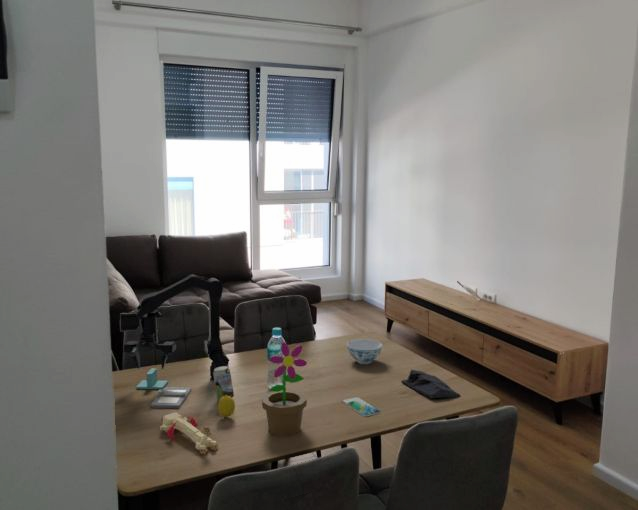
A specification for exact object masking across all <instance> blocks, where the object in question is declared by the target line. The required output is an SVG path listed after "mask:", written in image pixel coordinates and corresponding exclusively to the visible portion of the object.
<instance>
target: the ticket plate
mask: <svg viewBox="0 0 638 510" xmlns="http://www.w3.org/2000/svg"><path fill="white" fill-rule="evenodd" d="M191 391H192V387H172V386H171V387H169V386H168V387H166V386H165V387H164V388H163V389H158V390H157V396H156V397H155V399H154V400H153V401H152V403H150V409H151V408H153V409H159V408H160V409H180V408H181V406H182V405H183V403H184V402H185V401H186V399H187V398H188V395H189V394H190V393H191Z"/></svg>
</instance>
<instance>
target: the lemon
mask: <svg viewBox="0 0 638 510" xmlns="http://www.w3.org/2000/svg"><path fill="white" fill-rule="evenodd" d="M235 406H236V404H235V401H234V398H233V397H230V396H227V395H225V396H223V397H222V398H221V399H220V400H218V405H217V411H218V413H219V415H220V416H222V417H224V418H225V419H228V418H229V417H231V416H232V415H233V414H234V412H235V409H236V407H235Z"/></svg>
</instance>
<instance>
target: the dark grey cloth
mask: <svg viewBox="0 0 638 510" xmlns="http://www.w3.org/2000/svg"><path fill="white" fill-rule="evenodd" d="M401 383H402V384H405V385H406V386H407V387H409V388H411V389H412V390H414V391H417V392H418V393H420V394H422V395H424V396H425V397H427V398H431V399H441V398H443V399H446V398H448V399H450V398H458V397H461V394H460V393H457V392H456V391H454V390H453V389H452V388H451V387H450V386H449V385H448V384H447V383H445V382H444V381H443V380H442V379H440V378H438V377H437V376H436V375H432V374H429V373H426V372H423V371H421V370H416V369H410V372H409V375H408V377H407V379H402V380H401Z"/></svg>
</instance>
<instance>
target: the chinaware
mask: <svg viewBox="0 0 638 510" xmlns="http://www.w3.org/2000/svg"><path fill="white" fill-rule="evenodd" d="M346 347H347V351H348V353H349V355H350V356H351V357H352V358H353V359H354V360H356V363H357V362H358V364H360V365H370V364H372V363H373V361H374V360H376V358H378V357H379V355H380V354H381V351H382V348H383V343H381V342H380V341H378V340H375V339H369V338H358V339H353V340H350V341H348V342H347V343H346ZM371 362H372V363H371ZM369 363H370V364H369Z"/></svg>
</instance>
